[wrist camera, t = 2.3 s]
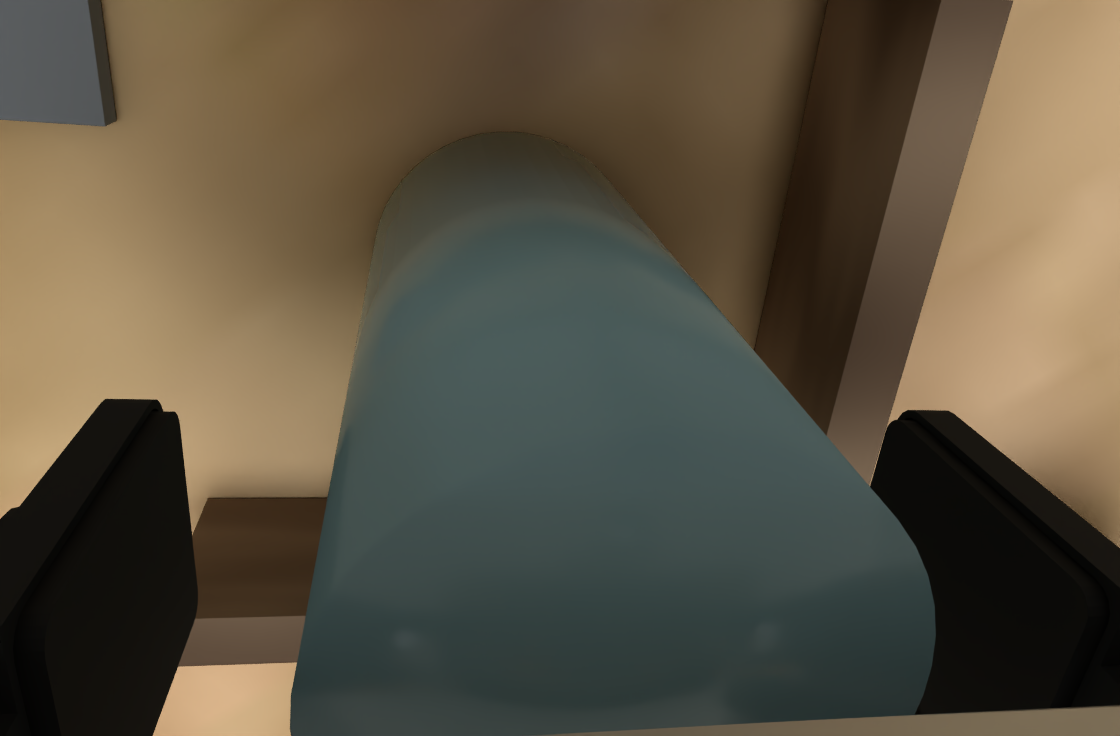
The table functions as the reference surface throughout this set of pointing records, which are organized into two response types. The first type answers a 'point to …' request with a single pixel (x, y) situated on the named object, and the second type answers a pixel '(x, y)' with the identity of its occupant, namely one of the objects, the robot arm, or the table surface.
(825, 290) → the brown u-shaped frame
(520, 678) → the jug
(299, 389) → the table surface
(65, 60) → the coaster
